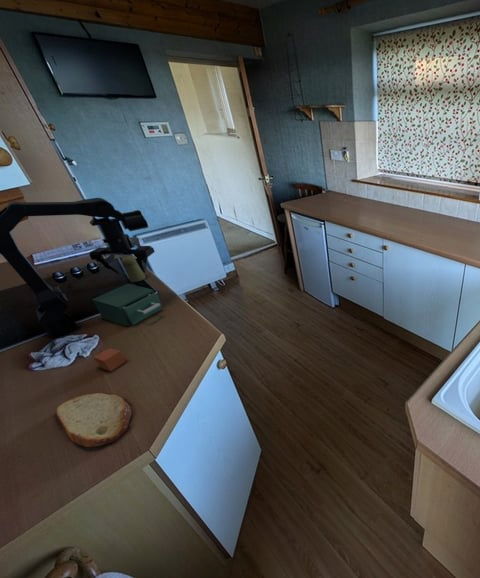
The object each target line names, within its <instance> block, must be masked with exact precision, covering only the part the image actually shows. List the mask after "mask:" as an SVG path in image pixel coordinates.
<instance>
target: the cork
mask: <svg viewBox="0 0 480 578" xmlns="http://www.w3.org/2000/svg"><path fill="white" fill-rule="evenodd" d="M136 258H137V257H135V256H134V255H128V256H125V257H123V258H122V259H121V263H122V265H123V266H125V269H126V273H127V276H128V279H129V282H130V283H136V282H141V281H143V280H145V279H146V278H147V277H146V275H145V273H144V272H143V271H142V270H141V268H140V266H139V265H138V263H137V261H136V260H135V259H136Z"/></svg>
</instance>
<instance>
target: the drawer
mask: <svg viewBox="0 0 480 578" xmlns="http://www.w3.org/2000/svg"><path fill="white" fill-rule="evenodd" d="M163 309H164V307H163V305H162V303H161V300H160V298H159V296H158V294H157V293H156V292H154V293H153V294H148V295H146V296H144V297H142V298H140V299H138V300H136V301H134V302H132V303H130V304H128V305H126V306H124V307H122V310H123V312H124V314H125V316H126V317H127V319H128V321H130V323H131V324H132V325H133V326H134V325H136V324H138V323H139V322H141V321H143V320H144V319H147V318H148V317H150V316H152V315H153V314H155V313H158V312H159V311H161V310H163ZM132 325H131V326H132Z"/></svg>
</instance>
